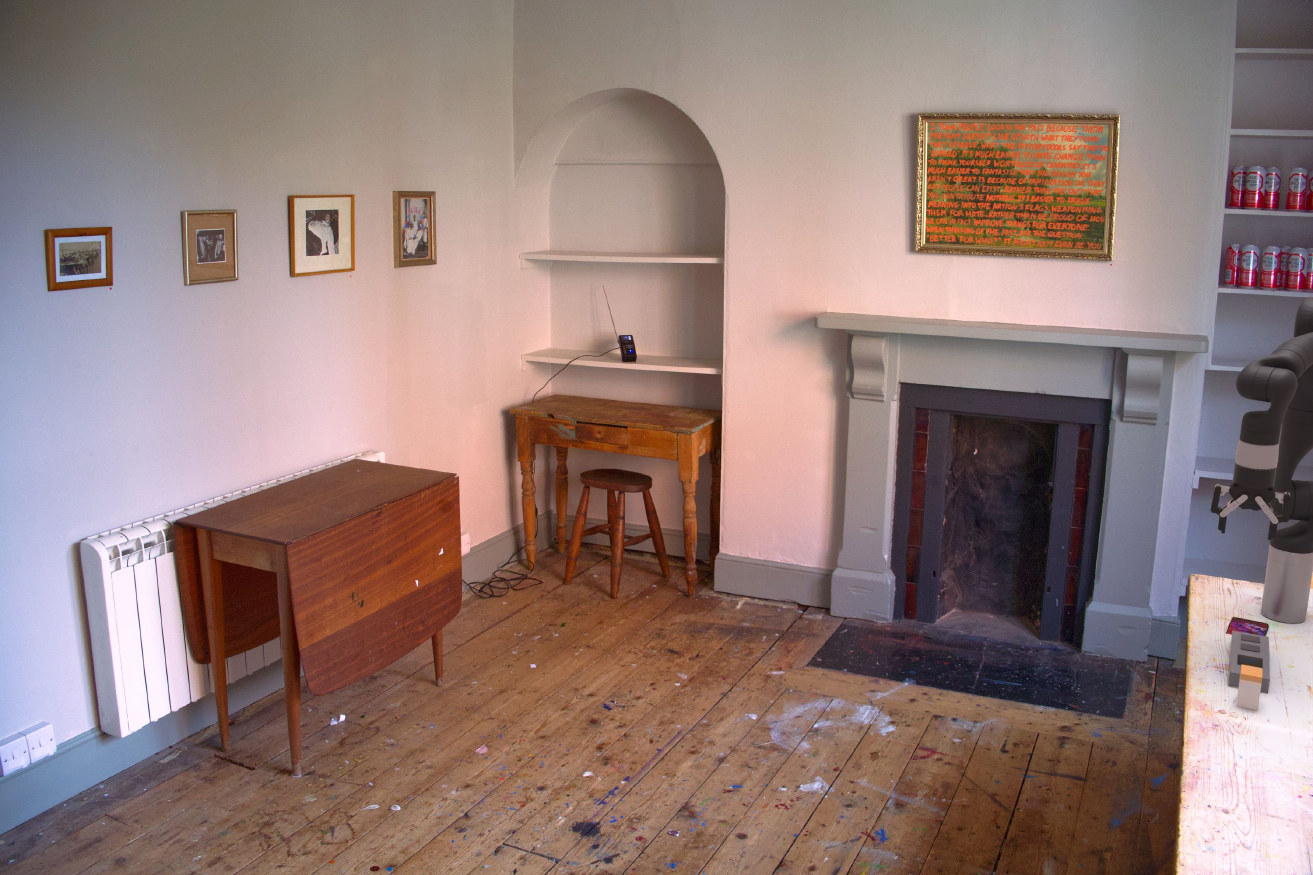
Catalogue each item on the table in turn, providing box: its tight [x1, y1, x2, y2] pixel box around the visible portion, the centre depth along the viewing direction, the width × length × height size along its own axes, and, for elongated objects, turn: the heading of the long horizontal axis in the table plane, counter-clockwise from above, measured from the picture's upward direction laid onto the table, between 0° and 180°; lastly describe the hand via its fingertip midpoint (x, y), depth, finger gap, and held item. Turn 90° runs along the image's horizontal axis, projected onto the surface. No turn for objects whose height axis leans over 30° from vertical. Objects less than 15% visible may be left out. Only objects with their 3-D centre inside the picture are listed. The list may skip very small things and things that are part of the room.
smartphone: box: [1224, 616, 1270, 636], centre depth 238 cm, size 8×1×15 cm
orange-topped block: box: [1236, 665, 1262, 711], centre depth 204 cm, size 4×4×8 cm
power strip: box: [1228, 631, 1271, 694], centre depth 219 cm, size 22×7×5 cm, turn 151°
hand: (1246, 535), depth 219 cm, fingers open, 8 cm apart
